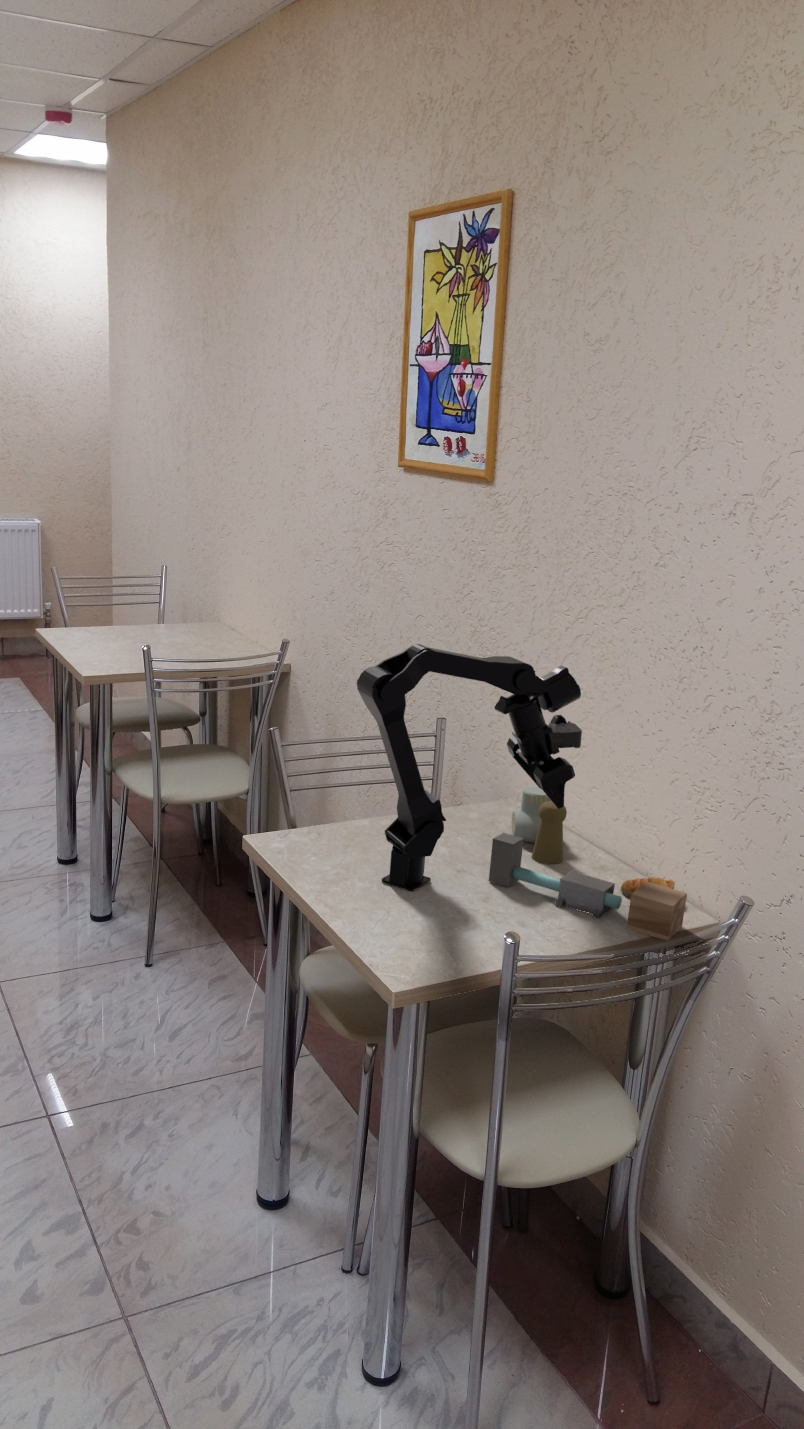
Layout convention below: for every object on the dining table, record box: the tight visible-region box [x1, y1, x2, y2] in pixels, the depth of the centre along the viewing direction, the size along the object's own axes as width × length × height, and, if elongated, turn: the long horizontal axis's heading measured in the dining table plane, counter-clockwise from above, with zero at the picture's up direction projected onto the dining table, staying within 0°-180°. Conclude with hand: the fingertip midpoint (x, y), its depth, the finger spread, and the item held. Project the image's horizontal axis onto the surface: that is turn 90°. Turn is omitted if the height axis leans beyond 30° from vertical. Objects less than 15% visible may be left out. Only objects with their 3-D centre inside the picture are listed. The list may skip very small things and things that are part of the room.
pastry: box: [620, 876, 675, 899], centre depth 194 cm, size 9×7×4 cm
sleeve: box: [554, 870, 616, 920], centre depth 188 cm, size 6×8×5 cm
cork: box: [531, 802, 568, 866], centre depth 208 cm, size 6×6×11 cm
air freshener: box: [511, 786, 552, 844], centre depth 218 cm, size 11×8×10 cm
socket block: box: [626, 882, 688, 941], centre depth 181 cm, size 7×7×6 cm
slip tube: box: [488, 832, 623, 910], centre depth 190 cm, size 4×24×8 cm, turn 57°
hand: (551, 797), depth 202 cm, fingers open, 9 cm apart
